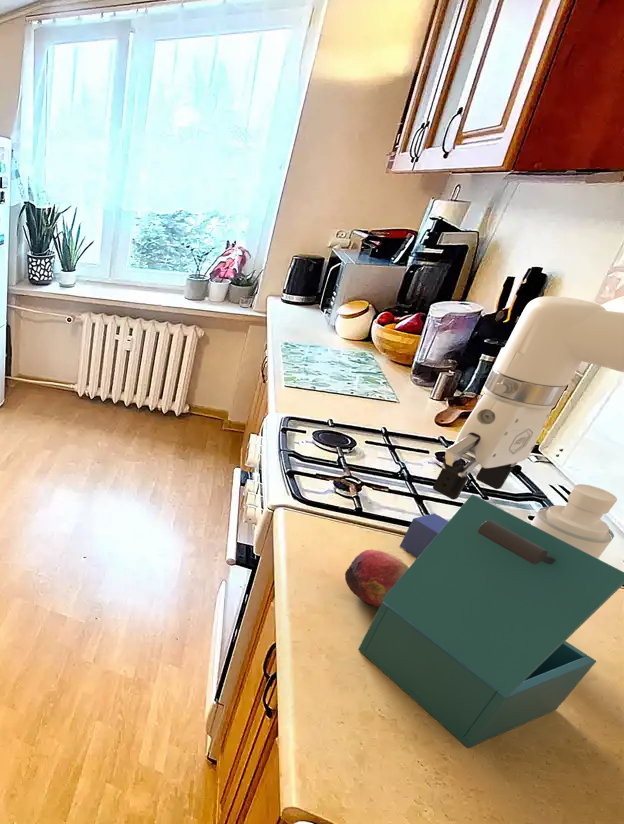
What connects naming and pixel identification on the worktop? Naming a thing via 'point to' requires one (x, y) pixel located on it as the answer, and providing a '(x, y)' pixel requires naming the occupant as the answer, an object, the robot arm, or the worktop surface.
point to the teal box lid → (501, 592)
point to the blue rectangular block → (422, 533)
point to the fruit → (374, 575)
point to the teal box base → (466, 680)
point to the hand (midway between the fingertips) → (466, 489)
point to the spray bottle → (580, 519)
